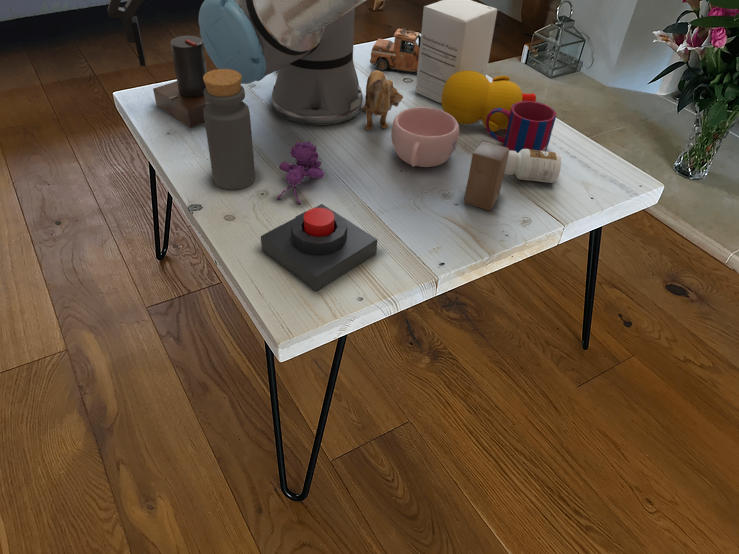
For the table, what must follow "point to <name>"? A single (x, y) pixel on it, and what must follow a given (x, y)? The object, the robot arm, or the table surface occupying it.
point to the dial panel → (180, 104)
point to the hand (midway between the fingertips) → (188, 60)
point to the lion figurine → (379, 98)
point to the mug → (424, 136)
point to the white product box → (453, 43)
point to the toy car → (397, 52)
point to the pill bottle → (534, 165)
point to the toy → (481, 98)
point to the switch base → (319, 249)
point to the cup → (526, 126)
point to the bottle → (228, 130)
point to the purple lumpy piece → (302, 165)
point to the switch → (319, 222)
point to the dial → (189, 65)
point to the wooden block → (486, 175)
